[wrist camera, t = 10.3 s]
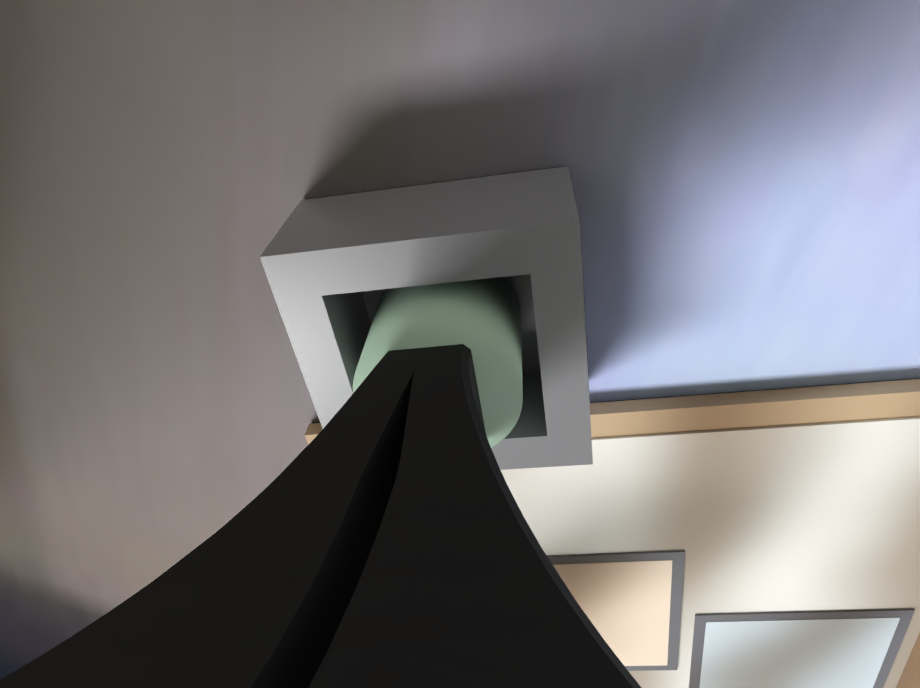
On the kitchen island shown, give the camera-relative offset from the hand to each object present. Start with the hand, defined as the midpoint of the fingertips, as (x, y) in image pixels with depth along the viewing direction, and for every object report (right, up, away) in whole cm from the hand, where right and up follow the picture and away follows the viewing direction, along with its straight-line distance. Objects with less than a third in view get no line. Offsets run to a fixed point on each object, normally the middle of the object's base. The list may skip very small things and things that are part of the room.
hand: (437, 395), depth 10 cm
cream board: (+6, -6, +7) cm, 11 cm away
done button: (0, +1, +2) cm, 2 cm away
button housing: (0, +2, +3) cm, 3 cm away
